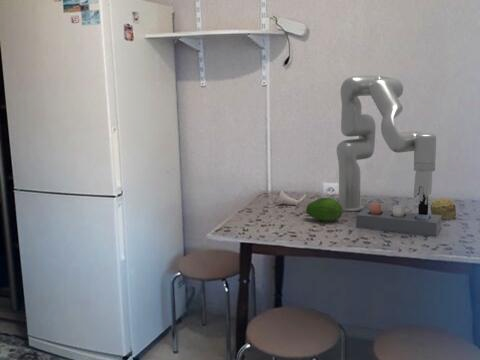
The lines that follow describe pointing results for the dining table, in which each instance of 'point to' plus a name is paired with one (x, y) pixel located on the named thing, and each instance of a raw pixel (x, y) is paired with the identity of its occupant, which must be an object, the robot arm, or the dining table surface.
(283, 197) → the toilet paper hanger
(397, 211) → the white rounded oval piece
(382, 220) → the grey rectangular block
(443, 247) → the dining table surface
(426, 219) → the light blue rounded cylinder
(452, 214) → the rock
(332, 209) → the fruit
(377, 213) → the brown egg
